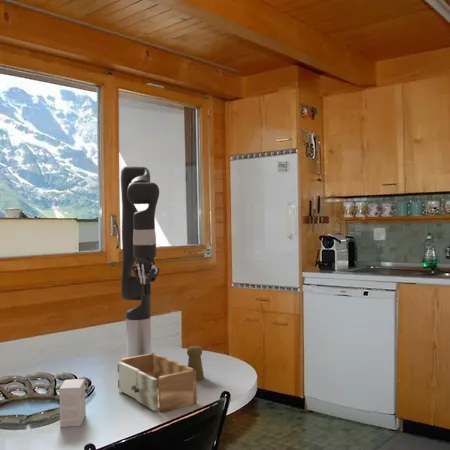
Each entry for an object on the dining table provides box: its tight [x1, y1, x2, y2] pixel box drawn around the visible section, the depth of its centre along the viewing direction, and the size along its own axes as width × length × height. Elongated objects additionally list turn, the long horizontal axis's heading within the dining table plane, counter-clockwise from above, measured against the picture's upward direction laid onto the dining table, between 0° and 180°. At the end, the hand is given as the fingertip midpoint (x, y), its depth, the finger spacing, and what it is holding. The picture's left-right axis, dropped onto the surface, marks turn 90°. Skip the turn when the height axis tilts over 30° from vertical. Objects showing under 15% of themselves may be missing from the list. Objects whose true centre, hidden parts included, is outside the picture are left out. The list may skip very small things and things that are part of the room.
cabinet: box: [120, 352, 198, 414], centre depth 164 cm, size 26×15×10 cm, turn 36°
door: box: [117, 361, 139, 400], centre depth 166 cm, size 12×2×9 cm, turn 38°
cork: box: [186, 345, 205, 382], centre depth 183 cm, size 6×6×11 cm
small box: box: [58, 378, 87, 428], centre depth 146 cm, size 8×6×10 cm
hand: (146, 294), depth 177 cm, fingers closed
